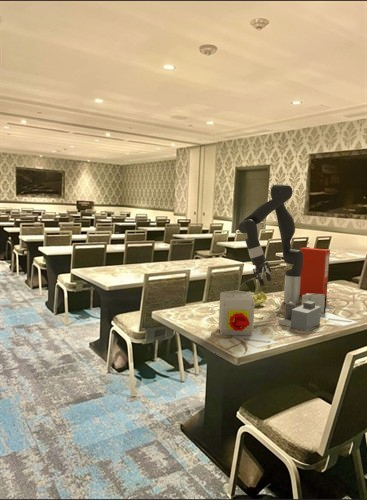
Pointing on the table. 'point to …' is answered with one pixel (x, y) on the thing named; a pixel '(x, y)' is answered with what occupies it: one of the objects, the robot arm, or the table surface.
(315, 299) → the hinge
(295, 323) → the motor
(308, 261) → the file binder
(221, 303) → the electrical switch box
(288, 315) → the dark grey tube
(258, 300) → the plastic component
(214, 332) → the table surface
